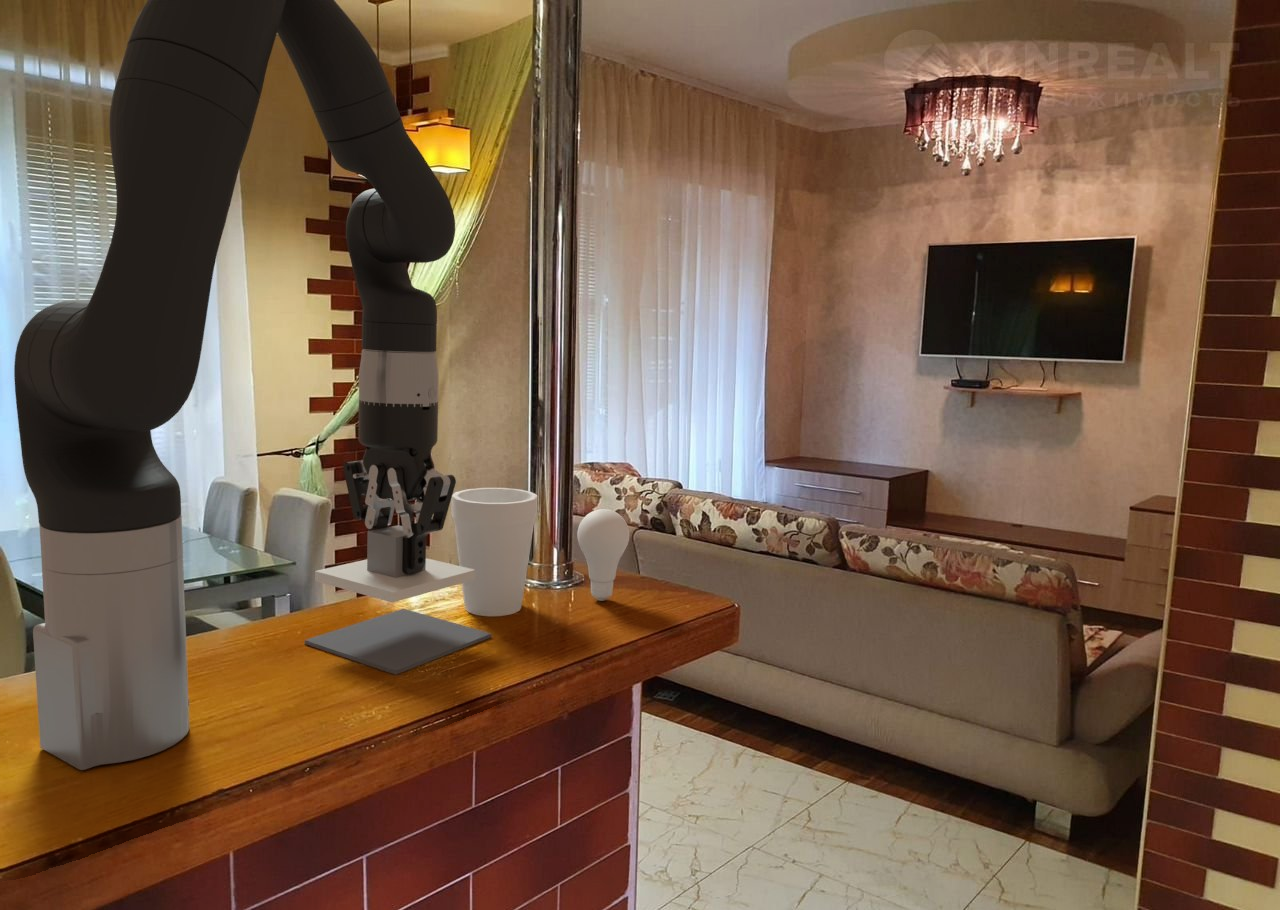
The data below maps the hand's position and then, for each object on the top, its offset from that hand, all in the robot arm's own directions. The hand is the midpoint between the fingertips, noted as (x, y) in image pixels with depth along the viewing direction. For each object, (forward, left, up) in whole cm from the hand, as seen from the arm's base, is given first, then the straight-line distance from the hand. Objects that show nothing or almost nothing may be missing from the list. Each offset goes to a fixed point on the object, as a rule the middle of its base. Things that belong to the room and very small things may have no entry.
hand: (396, 567), depth 94 cm
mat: (0, 0, -8) cm, 8 cm away
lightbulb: (+24, -8, -8) cm, 27 cm away
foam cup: (+14, 0, -8) cm, 16 cm away
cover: (0, 0, -1) cm, 1 cm away
